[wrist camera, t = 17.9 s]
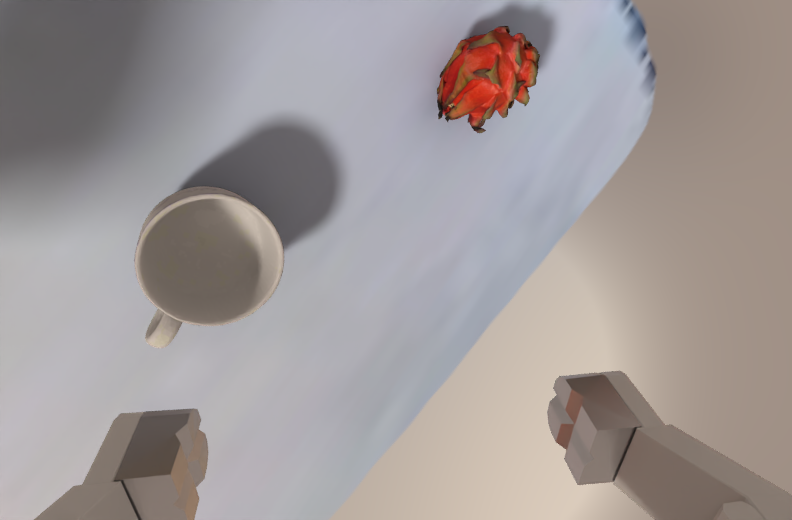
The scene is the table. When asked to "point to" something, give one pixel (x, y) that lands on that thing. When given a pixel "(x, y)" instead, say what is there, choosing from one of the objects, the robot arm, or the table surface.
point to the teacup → (206, 260)
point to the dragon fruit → (487, 76)
